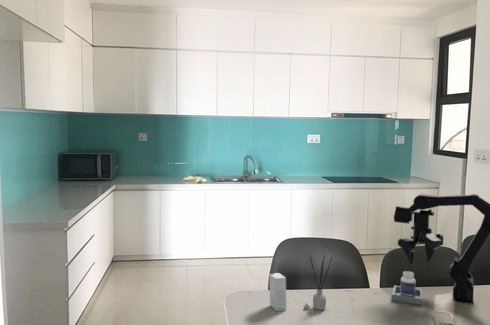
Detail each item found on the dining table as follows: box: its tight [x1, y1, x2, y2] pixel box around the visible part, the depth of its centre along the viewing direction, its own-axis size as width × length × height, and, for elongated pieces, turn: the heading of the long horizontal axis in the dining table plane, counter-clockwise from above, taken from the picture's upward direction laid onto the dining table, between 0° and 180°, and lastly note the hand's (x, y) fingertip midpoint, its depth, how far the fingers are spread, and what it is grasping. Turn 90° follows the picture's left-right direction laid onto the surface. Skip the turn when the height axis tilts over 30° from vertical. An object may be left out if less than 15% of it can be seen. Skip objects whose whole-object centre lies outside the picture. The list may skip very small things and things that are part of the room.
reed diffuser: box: [303, 254, 333, 310], centre depth 144 cm, size 10×7×20 cm
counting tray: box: [391, 284, 423, 307], centre depth 155 cm, size 11×11×2 cm
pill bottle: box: [400, 270, 417, 297], centre depth 155 cm, size 5×5×10 cm
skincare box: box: [269, 272, 287, 312], centre depth 145 cm, size 6×4×12 cm
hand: (419, 262), depth 162 cm, fingers open, 9 cm apart
